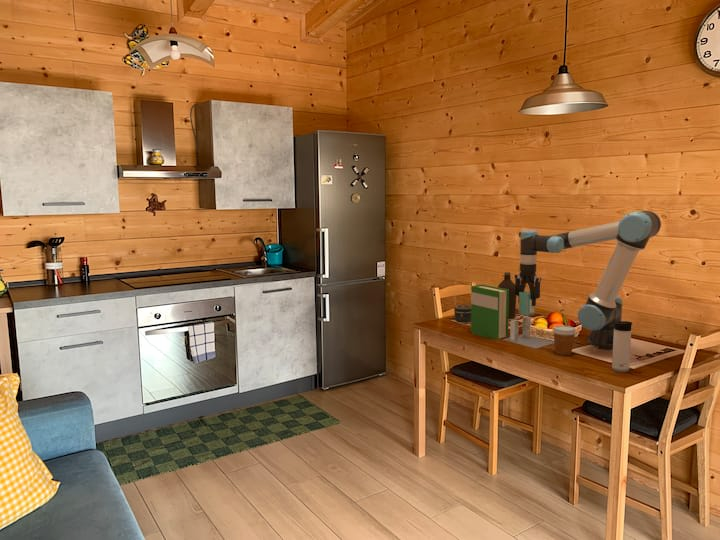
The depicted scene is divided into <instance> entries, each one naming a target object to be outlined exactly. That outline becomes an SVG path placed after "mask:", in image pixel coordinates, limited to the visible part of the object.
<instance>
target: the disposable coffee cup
mask: <svg viewBox="0 0 720 540" xmlns="http://www.w3.org/2000/svg"><path fill="white" fill-rule="evenodd" d="M552 333H553V337H554V338H553V339H554V341H553V342H555V343H554V350H555V354H556V355H561V356H570V355H572V351H573V347H574V346H573V345H574V340H575V335H576V333H577V331H576V329H575V327H574V326H571V325H563V324H562V325H555V326H554V327H553V329H552Z"/></svg>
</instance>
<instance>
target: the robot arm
mask: <svg viewBox="0 0 720 540" xmlns="http://www.w3.org/2000/svg"><path fill="white" fill-rule="evenodd" d="M661 228H662V221H661V219H660V217H659V215H658V214H656V213H655V212H654V211H651V210H641V211H633V212H630V213H627V214H625V215H624V216H623V217H621V219H620V220H617V221H614V222H608V223H605V224H601V225H594V226H590V227H586V228H582V229H581V228H580V229H577V230H576V229H575V230H571V231H567V232H563V233H562V232H561V233H558V234H552V235H540V234H538V230H532V229H525V230H524V229H523V230H522V231H521V232H520V240H519V242H520V246H519V247H520V249H519V250H520V252H519V262H520V263H519V271H520V272H519V273H518V274H515V275H514V278H515V281H514V282H515V283H514V284H515V295H517V297H518V298H517V299H518V300H517V303H518V304H519V292H523V291H526V287H527V285H528V287H529V288H528V289H529V291H530V294H531V299H530V311H529V313H533V312H534V306H535V307H536V306H537V303H536V302H537V299H540V298H541V281H542V277H538V276H537V274H536V272H537V264H536V263H537V262H538V261H537V259H538V258H537V256H538V253H539V252H541V253H551V254H559V253H562V252H563V250H567V249H572V248H577V247H582V246H588V245H593V244H598V243H605V242H609V241H614V240H616V243H617V244H616V246H615V248H614V250H613V253H612V254H611V257H610V258H609V261H608V263H607V266H606V268H605V269H604V272H603V274H602V276H601V278H600V281H599V282H598V285H597V287H596V289H595V291H594V292H593V293H590V294H589V295H588V297H587V300H586V302H585V304H584V305H582V306H581V307H580V308H579V310H578V311H577V320H578V322H579V324H580V325H581V326H582V327H583V328H584V329H586V330H589V331H590V334H589V337H588V339H587V340H588V342H587V343H588V345H591V346H594V347H595V348H596V347H597V349H600V350H610V351H611V350H612V351H613V338H614V323H616V322H619V321H622V316H623V315H622V313H623V305H624V304H623V298H622V297H620V296H618V295H619V293H620V290H621V288H622V286H623V285H624V283H625V280H626V279H627V277H628V275H629V272H630V270H631V269H632V266H633V263H634V262H635V261H636V258H637V256H638V253H639V252H640V251H643V250H645V249H646V246H647V244H648V242H649V240H650V239H652V238H653V237H655V236H656V235H658V233H659V232H660V230H661Z"/></svg>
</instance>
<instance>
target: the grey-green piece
mask: <svg viewBox="0 0 720 540" xmlns="http://www.w3.org/2000/svg"><path fill="white" fill-rule="evenodd" d="M530 299H531V294H530V290H524V291H523V292H519V303H518V315H522V316H525V317H530V316H533V315H535V311H536V310H535V309H536V305H535V306H534V312H533V313H529V311H530Z"/></svg>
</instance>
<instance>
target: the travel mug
mask: <svg viewBox="0 0 720 540" xmlns="http://www.w3.org/2000/svg"><path fill="white" fill-rule="evenodd" d="M632 326H633V322H632V321H629V320H625V321H624V320H621V321H619V322H616V323H614V338H613V350H612V360H611V361H612V362H611V370H613V372H617V373H629V371H630V361H631V344H632Z"/></svg>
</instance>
